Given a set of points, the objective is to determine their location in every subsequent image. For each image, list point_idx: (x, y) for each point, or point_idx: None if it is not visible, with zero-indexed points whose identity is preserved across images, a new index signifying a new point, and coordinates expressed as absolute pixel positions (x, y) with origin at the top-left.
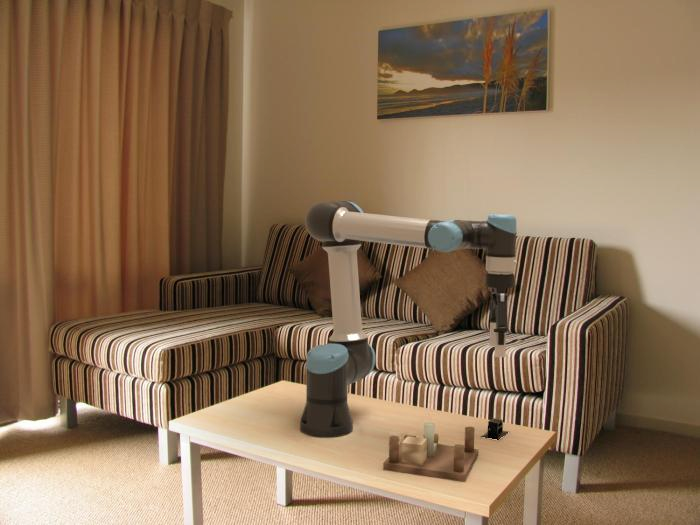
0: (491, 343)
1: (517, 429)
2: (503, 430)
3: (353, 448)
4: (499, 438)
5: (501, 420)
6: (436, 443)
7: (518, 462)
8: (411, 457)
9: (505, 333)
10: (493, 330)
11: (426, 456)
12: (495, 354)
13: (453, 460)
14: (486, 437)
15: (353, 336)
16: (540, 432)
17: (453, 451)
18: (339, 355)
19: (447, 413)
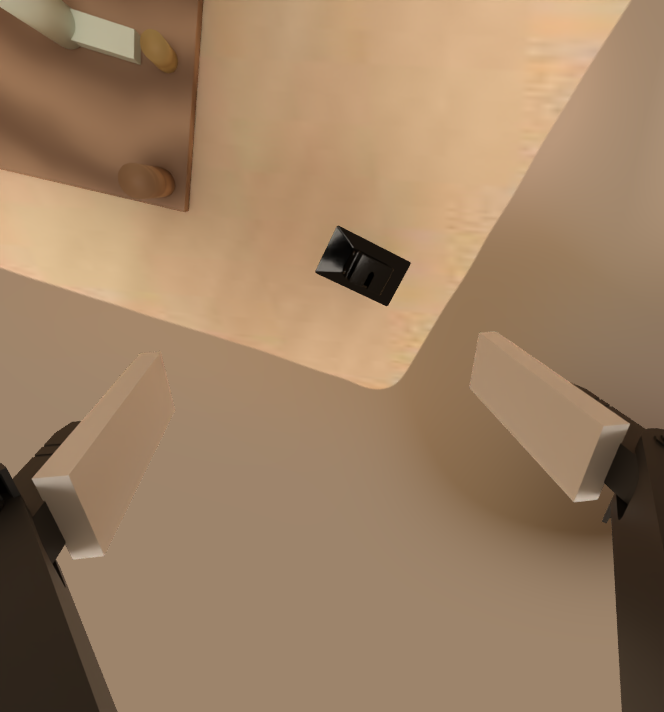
0: (484, 349)
1: (405, 324)
2: (395, 291)
3: None
4: (330, 276)
5: (373, 292)
6: (133, 58)
7: (171, 309)
8: None
9: (73, 543)
10: (539, 408)
11: None
12: (135, 363)
13: (57, 124)
14: (334, 243)
15: None
16: (387, 371)
17: (138, 128)
18: None
19: (542, 132)
